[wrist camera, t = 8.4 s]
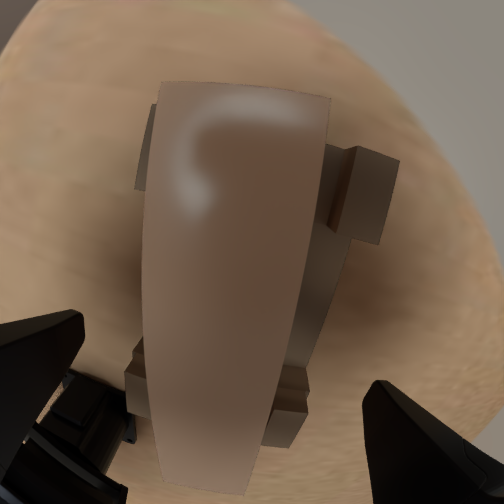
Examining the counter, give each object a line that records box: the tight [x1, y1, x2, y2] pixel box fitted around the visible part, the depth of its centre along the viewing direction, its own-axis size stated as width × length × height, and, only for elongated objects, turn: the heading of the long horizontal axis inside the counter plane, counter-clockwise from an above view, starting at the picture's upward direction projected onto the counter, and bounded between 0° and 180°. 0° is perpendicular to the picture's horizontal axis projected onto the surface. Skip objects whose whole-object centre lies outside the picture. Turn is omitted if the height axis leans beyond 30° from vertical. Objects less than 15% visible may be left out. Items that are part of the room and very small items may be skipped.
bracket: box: [124, 104, 400, 448], centre depth 12 cm, size 14×9×5 cm, turn 167°
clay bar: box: [142, 82, 331, 496], centre depth 9 cm, size 14×4×5 cm, turn 172°
